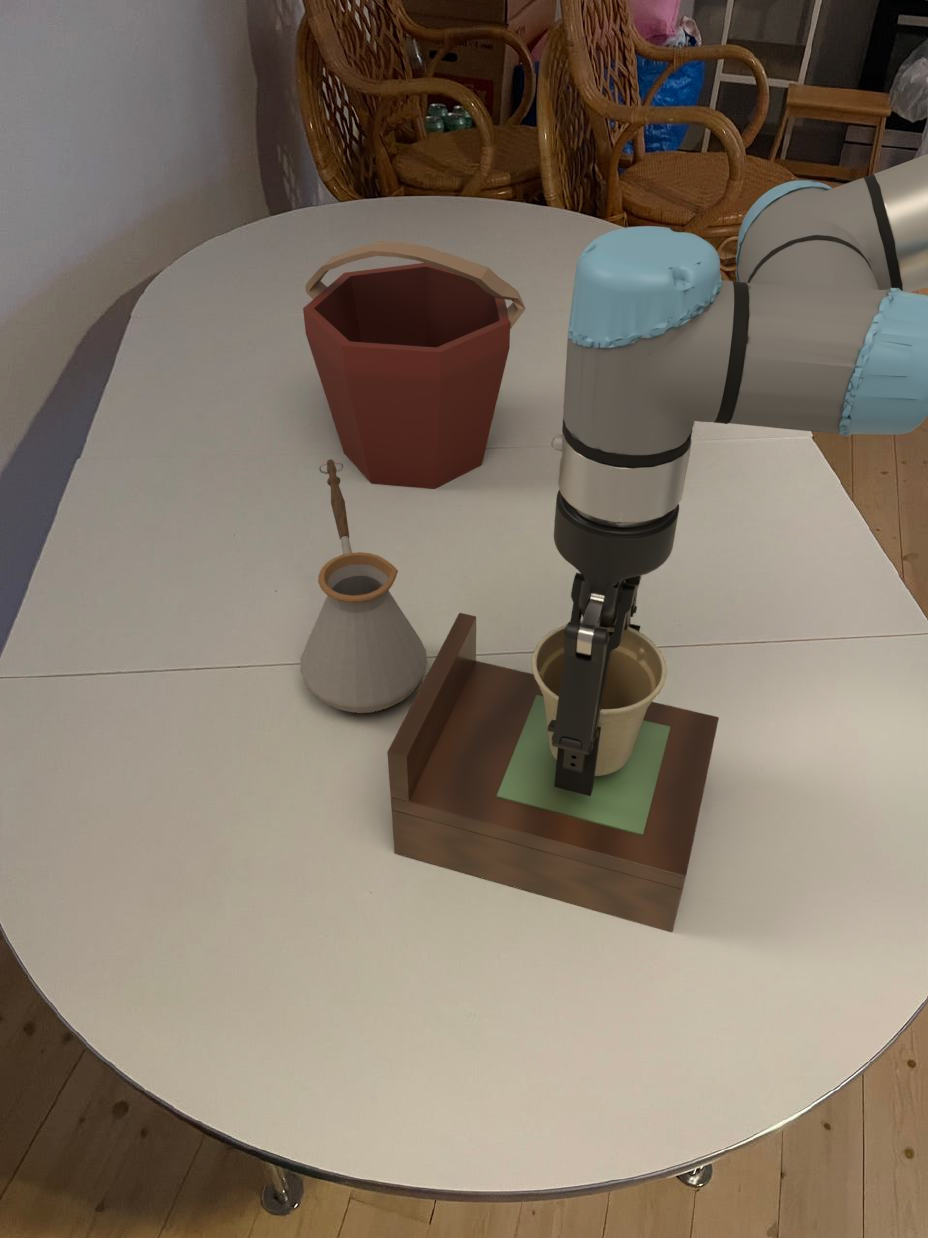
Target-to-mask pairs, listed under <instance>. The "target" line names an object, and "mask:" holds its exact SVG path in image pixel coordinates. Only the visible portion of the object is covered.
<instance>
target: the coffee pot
mask: <svg viewBox="0 0 928 1238" xmlns="http://www.w3.org/2000/svg"><path fill="white" fill-rule="evenodd" d="M336 464H337V465H341V467H339V469H337V466H336ZM324 466H326V471H325V470H322V467H324ZM343 469H344V464H343V463H342V462H341V461H337V460H333V459H331V458H330V459H328V460H326V462H324V463H322V464H320V465H319V468H318V470H319V472H320V473H322V474H325V475H328V478H327V481H326V483H327V486H330V505H331V509H332V513H333V517H334V521H335V524H336V525H335V526H336V530H337V533H338V537H339V540H340V544H341V551H342V554H340V555H338V556H335V557H333V558H332V559H330V560H329V561H327V562H326V563H325V564H324V565H323V566H322V567H321V569H320V571H319V573H318V578H317V579H318V582H317V583H318V585H319V587H320V589H321V591H322V592H323V593H324V594H325V595H326V598H325V600H324V603H323V604H322V607H321V609H320V611H319V614H318V616H317V618H316V621H315V623H314V626H313V628H312V630H311V633H310V635H309V637H308V639H307V642H306V644H305V647H304V648H303V651H302V654H301V655H300V663H299V665H300V666H299V667H300V669H299V670H300V674H301V677H302V679H303V683H304V684H305V686H306V687H307V689H309V691H310V692H311V693H312V694H313V695H314V697H316V699H318V700H319V701H321V702H322V703H324V705H327V706H329V707H331V708H335V709H336V710H337V709H338V710H340V711H343V712H349V713H355V712H356V713H355V714H369V713H370V714H371V713H373V714H374V713H376V712H380V711H383V709H384V710H385V709H388V708H391V707H392V706H394V705H397V704H399V703H401V702H404V700H405V699H407V698H408V697H409V696H410V695H411V694H413V693H414V691H415V690H416V688H417V687H418V685H419V684H420V683H421V681H422V679H423V678H424V675H425V673H426V669H427V665H428V657H427V650H426V648H425V646H424V644H423V642H422V640H421V638H420V637H419V635H418V633H417V632H416V630H415V628H414V626H412V624H411V623H410V621H409V620H408V618H407V616H406V614H404V612H403V610H402V609H401V608H400V606H399V604H398V603H397V602H396V600H395V598H394V597H393V595H392V593H391V592H390V591H389V590H390V589H391V588H392V586H393V585H394V583H395V580H396V578H397V575H398V573H399V570H398V569H397V568H396V566H394V565H393V564H392V563H391V562H390V561H388V560H387V559H386V558H384V557H382V556H380V555H377V554H374V553H370V552H360V551H359V552H357V551H356V552H353V551H352V546H351V542H350V531H349V523H348V517H347V509H346V508H347V507H346V502H345V498H344V496H343V493H342V490H341V488H340V484H341V478H340V477H339V476H338V475H337V473H339V472H341V471H342V470H343ZM375 711H376V712H375Z"/></svg>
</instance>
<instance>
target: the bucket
mask: <svg viewBox="0 0 928 1238" xmlns="http://www.w3.org/2000/svg"><path fill="white" fill-rule="evenodd" d="M374 257H389V258H398V259H399V258H400V259H405V260H412V261H416V262H420V263H412V264H403V265H396V266H387V267H379V268H371V269H363V270H356V271H355V270H354V271H349V272H348V271H347V272H346V271H345V272H343V273H342V274H341V275H339V277H337V278H336V279H335V280H334V281H333V282H332V283H331V284H329V285H328V286H327V285H326V284H324V282H322V279H323V278H324V277H325V275H326V274H327V273H328V272H329V271H332V270H334V269H337V268H339V267H341V266H343V265H345V264H350V263H353V262H356V261H359V260H360V261H361V260H364V259H369V258H374ZM304 288H305V292H306V294H307V295H308V296H309V297H310V298H311V299H312V300H311V301H310V302H308V303H307V304H306V305H305V306H304V307H303V308H302V311H303V313H302V314H303V320H304V321H303V322H304V330H305V336H306V339H307V343H308V345H309V348H310V352H311V355H312V358H313V360H314V365H315V367H316V371H317V373H318V377H319V379H320V383H321V386H322V389H323V392H324V395H325V398H326V401H327V404H328V408H329V412H330V414H331V416H332V421H333V424H334V426H335V429H336V433H337V436H338V439H339V442H340V445H341V448H342V452H343V454H344V455H345V457H346V458H348V459H349V461H350V462H351V463H352V464H353V465H354V466H355V467H356V469H358V471H360V473H361V474H362V475H363V476H364V477H365V478H366V479H367V481H369V483H370V484H373V485H386V486H399V487H408V488H420V489H432V490H435V489H437V488H439V487H441V486H443V485H445V484H447V483H449V482H451V481H453V480H454V479H455V480H456V479H457V478H459V477H460V476H463V475H464V474H466V473H468V472H470V471H472V470H474V469H476V468H478V467H480V466H482V465H483V460H484V457H485V453H486V449H487V444H488V442H489V441H488V440H489V436H490V431H491V427H492V424H493V420H494V415H495V411H496V407H497V403H498V398H499V394H500V389H501V387H502V386H501V385H502V382H503V377H504V372H505V370H506V364H507V361H508V356H509V353H510V352H509V351H510V347H511V329H512V328H513V326H514V325H515V324H516V323H517V322H518V321H519V319H520V318H521V316H522V315H523V314H524V312H525V311H526V309H527V308H526V306H525V304H524V302H523V300H522V298H521V295H520V292H519V291H518V289H516V288H515V287H514V286H512V285H511V284H510V283H509V282H507V281H505V280H504V279H503V278H501V277H500V276H498V275H497V274H496V273H495V272H494V271H493V270H492V269H491V268H490V267H488V266H485V265H482V264H480V263H477V262H475V261H471V260H468V259H466V258H463V257H460V256H457V255H455V254H451V253H449V252H445V251H443V250H439V249H435V248H433V247H428V246H423V245H418V244H413V243H408V242H400V241H399V242H398V241H386V240H385V241H384V240H381V241H378V242H374V243H369V244H365V245H362V246H359V247H355V248H352V249H349V250H347V251H346V252H343V253H340V254H338V255H334V256H332V257H330V258H329V259H328V261H326V262H324V264H322V265H321V266H320V267H319V268H318V269H317V270H316V272H314V274H313V275H312V276H311V277H310V278H309V280H308V281H307V282H306V283H305V285H304ZM506 300H508V301H512V303H510V305H509V306H508V307H507V302H506Z"/></svg>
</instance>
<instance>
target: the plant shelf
mask: <svg viewBox="0 0 928 1238" xmlns="http://www.w3.org/2000/svg"><path fill="white" fill-rule="evenodd" d="M718 725H719V716H715V715H712V714H707V713H702V712H698V711H694V710H689V709H686V708H681V707H677V706H672V705H669V704H663V703H659V702H655V701H652V703H651V704H650V705H649V706H648V708H647V710H646V713H645V716H644V718H643V721H642V724H641V727H640V730H639V732H638V735H637V738H636V741H635V744H634V747H633V750H632V754H631V756H630V758H629V759H628V761H627V762H626V763H625V765H624V766H623V767H622V768H620V769H619V770H617V771H615V772H613V773H610V774H607V775H602V776H595V777H594V785H593V790H592V793H591V796H587V795H584V794H580V793H576V792H572V791H568V790H564V789H560V788H557V787H554V784H555V773H556V763H557V760H556V759H555V758H554V756H553V754H552V752H551V750H550V745H549V735H548V727H547V719H546V711H545V704H544V696H543V694H542V692H541V690H540V687H539V685H538V683H537V681H536V680H535V677H534V674H533V673H531V672H526V671H521V670H518V669H513V668H508V667H504V666H500V665H496V664H491V663H487V662H483V661H478V660H477V616H476V615H471V614H467V613H463V612H458V614H457V616H456V618H455V620H454V622H453V624H452V626H451V628H450V630H449V632H448V634H447V636H446V638H445V639H444V642H443V644H442V645H441V647H440V649H439V652H438V653H437V655H436V657H435V658H434V661H433V662H432V665H431V666H430V668H429V671H428V673H427V674H426V677H425V678H424V679H423V682H422V684H421V686H420V687H419V689H418V691H417V694H416V696H415V697H414V700H413V702H412V703H411V706H410V707H409V709H408V711H407V713H406V714H405V717H404V719H403V721H402V722H401V725H400V727H399V729H398V730H397V732H396V735H395V736H394V738H393V740H392V742H391V744H390V746H389V748H388V750H387V752H386V754H387V767H388V780H389V781H388V783H389V795H390V809H391V822H392V823H391V824H392V837H393V850H394V851H393V852H394V854H395V853H397V854H396V855H399V856H402V855H403V857H406V856H408V857H407V858H409V857H410V859H413V858H414V859H413V860H416V859H418V860H417V861H420V862H423V861H424V862H423V863H427V862H429V863H428V864H430V863H433V864H432V865H434V864H435V866H438V867H441V866H442V868H445V867H446V869H448V868H449V869H448V870H452V869H453V870H452V871H455V870H456V871H455V872H459V871H460V872H459V873H462V872H463V874H466V873H467V875H469V874H472V875H471V876H473V875H474V877H476V876H479V877H478V878H480V877H481V878H480V879H483V878H486V879H485V880H487V879H488V880H487V881H490V880H493V881H492V882H494V881H496V882H495V883H497V882H501V883H503V884H502V885H504V884H506V885H505V886H508V885H511V886H515V887H518V888H517V889H519V888H521V889H520V890H522V889H524V890H523V891H526V892H529V891H530V892H529V893H533V892H534V893H533V894H536V893H537V894H536V895H539V896H543V895H545V896H544V897H547V896H548V897H547V898H550V897H551V899H553V900H557V899H559V900H558V901H561V900H562V901H561V902H564V901H565V902H564V903H569V904H572V905H575V906H579V907H582V908H585V907H586V909H589V910H592V911H597V912H600V913H603V914H607V915H610V916H614V917H617V918H621V919H624V920H628V921H632V922H635V923H639V924H641V925H645V926H649V927H653V928H656V929H660V930H664V931H667V932H670V933H673V932H674V929H675V923H676V920H677V915H678V912H679V908H680V903H681V899H682V895H683V890H684V886H685V883H686V878H687V873H688V869H689V864H690V859H691V854H692V850H693V845H694V840H695V835H696V829H697V826H698V821H699V815H700V811H701V806H702V802H703V798H704V797H703V796H704V792H705V787H706V782H707V777H708V773H709V767H710V762H711V758H712V752H713V748H714V743H715V740H716V733H717V729H718ZM404 855H405V856H404ZM421 860H422V861H421ZM482 877H483V878H482ZM501 883H500V884H501ZM511 886H510V887H511ZM515 887H514V888H515Z"/></svg>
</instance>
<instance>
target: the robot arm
mask: <svg viewBox="0 0 928 1238" xmlns="http://www.w3.org/2000/svg"><path fill="white" fill-rule="evenodd" d="M735 264H736V266H735V267H736V269H735V278H736V281H732V280H725V279H722V274H721V259H720V256H719V252H718V251H717V250H716V248H715V247H714V245H712V244H711V243H710V242H708V241H707V240H705V239H704V238H703V237H700V236H698V235H697V234H694V233H691V232H687V231H684V232H682V231H681V232H679V231H673V230H672V229H671V228H670V227H666V226H656V225H654V226H653V225H641V226H629V227H622V228H618V229H614V230H613V229H612V230H611V231H608V232H606V233H603V234H601V235H599V236H598V237H596V238H593V240H592V241H591V242H590V243H588V245H587V246H585V248H584V250H583V251H582V252H581V254H580V256H579V258H578V260H577V262H576V267H575V274H574V281H573V289H572V290H573V291H572V296H571V297H572V298H571V305H570V314H569V322H568V328H567V341H566V357H565V358H566V359H565V375H564V392H563V393H564V395H563V411H562V427H561V431H562V434H555V435H554V437H553V438H552V441H551V448H552V450H554V451H557V452H561V457H560V461H559V470H558V481H557V482H558V491H557V492H556V493H557V494H556V498H555V511H554V524H553V525H554V526H553V542H554V545H555V548H556V550H557V551H558V553H559V554H560V556H561V557H562V558H563V559H564V560H565V561H566V562H567V563H568V564H570V565H571V566H573V568H575V569H576V570H577V572H576V573H575V575H574V577H573V581H572V587H571V593H570V598H571V601H572V610H571V615H570V621H568V622H567V623H566V624H567V626H566V627H565V631H564V634H565V651H564V661H563V669H562V676H561V683H560V691H559V698H558V706H557V713H556V720H551V722H550V723H549V725H548V731H549V732H554V733H553V735H552V746H554V747H558V752H557V763H556V773H555V784H554V787H557V788H560V789H564V790H568V791H572V792H576V793H580V794H584V795H587V796H591V793H592V790H593V785H594V777H595V770H596V762H597V755H598V747H599V740H600V732H601V727H598V723H599V718H600V711H601V707H602V702H603V697H604V692H605V686H606V681H607V676H608V671H609V665H610V660H611V655H612V650H613V649H616V648H617V647H618V646H619V645H620V643H621V641H622V638H623V633H624V630H627V628H628V627H630V628H633V629H635V630H637V631H639V632H640V633H641V625H638V624H634V623H632V619H631V618H633V617H634V615H635V614H636V613H637V610H638V606H637V598H638V590H639V586H640V583H641V580H642V576H644V575H647V574H649V573H653V572H654V571H656V570H657V569H659V568H660V567H661V566H662V565H664V564H665V563H666V562H667V560H668V559H669V558H670V556H671V553H672V551H673V548H674V542H675V536H676V530H677V524H678V520H679V519H678V518H679V513H680V502H681V501H682V498H683V494H684V489H685V483H686V478H687V473H688V466H689V460H690V455H691V449H692V444H693V441H692V435H693V428H694V425H695V422H699V423H714V424H725V425H728V424H732V425H740V426H741V425H742V426H752V427H761V428H771V429H772V428H773V429H781V430H782V429H785V430H794V431H803V432H813V433H823V434H834V435H839V436H840V437H850V436H851V435H888V436H889V435H890V436H891V435H893V436H895V435H896V436H900V435H905V434H908V433H909V434H910V433H911V432H913V431H914V430H915V429H917V428H919V427H920V426H921V425H922V423H923V422H924V421H925V420H926V418H928V294H923V293H917V292H916V291H920V290H923V289H926V288H928V153H926V154H924V155H922V156H919V157H916V158H913V159H911V160H908V161H905V162H903V163H900V164H897V165H894V166H892V167H889V168H887V169H884V170H880V171H878V172H875V173H873V174H870V175H866V176H864V177H861V178H858V179H855V180H852V181H850V182H847V183H844V184H841V185H839V186H835V187H831V186H830V185H828V184H826V183H823V182H819V181H816V180H810V179H809V180H802V179H801V180H791V181H787V182H784V183H781V184H778V185H776V186H775V187H772V188H771V189H769V190H767V191H766V192H765V193H763V194H762V195H761V196H760V197H758V199H757V200H756V201H755V202H753V204H752V205H751V206H750V208H749V209H748V211H747V212H746V214H745V216H744V217H743V220H742V222H741V225H740V228H739V231H738V236H737V252H736V255H735ZM581 621H582V624H581ZM599 626H600V627H604V628H609V627H611V628H615V630H614V632H608V630H607V629H603V628H599Z"/></svg>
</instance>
